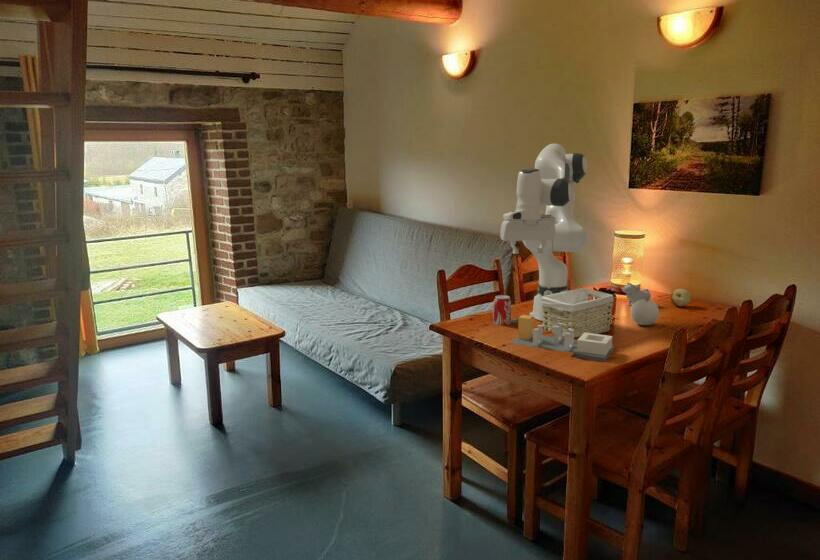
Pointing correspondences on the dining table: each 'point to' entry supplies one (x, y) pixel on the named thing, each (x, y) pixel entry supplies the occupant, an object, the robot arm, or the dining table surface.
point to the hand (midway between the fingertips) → (527, 253)
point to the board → (571, 343)
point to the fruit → (680, 297)
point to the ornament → (645, 312)
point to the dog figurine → (635, 293)
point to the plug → (524, 327)
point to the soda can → (502, 310)
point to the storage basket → (578, 311)
